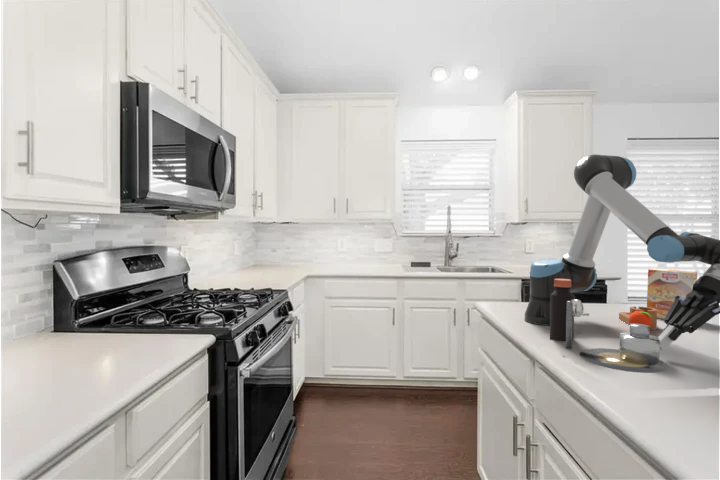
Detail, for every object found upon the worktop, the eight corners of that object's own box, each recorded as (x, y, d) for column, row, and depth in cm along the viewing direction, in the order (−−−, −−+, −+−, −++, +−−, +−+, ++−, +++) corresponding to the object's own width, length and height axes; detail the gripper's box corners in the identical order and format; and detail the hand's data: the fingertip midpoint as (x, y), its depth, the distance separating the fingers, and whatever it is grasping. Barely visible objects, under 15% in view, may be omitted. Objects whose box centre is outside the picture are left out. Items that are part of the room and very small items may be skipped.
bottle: (550, 343, 131) (551, 280, 130) (549, 338, 137) (550, 277, 136) (574, 346, 128) (576, 281, 127) (572, 340, 134) (573, 278, 134)
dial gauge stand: (557, 349, 124) (558, 298, 124) (582, 349, 125) (583, 297, 125) (567, 355, 120) (568, 301, 119) (593, 354, 120) (594, 300, 120)
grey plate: (564, 353, 121) (564, 349, 121) (628, 351, 123) (628, 347, 123) (613, 378, 101) (613, 373, 101) (688, 375, 103) (688, 371, 103)
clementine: (659, 332, 145) (660, 312, 145) (647, 334, 142) (648, 313, 142) (635, 327, 153) (636, 308, 152) (623, 329, 150) (624, 309, 149)
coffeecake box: (646, 316, 171) (647, 269, 170) (650, 314, 175) (652, 267, 175) (692, 323, 160) (694, 272, 159) (695, 320, 164) (697, 270, 164)
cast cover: (611, 353, 117) (612, 322, 116) (641, 353, 118) (642, 321, 117) (635, 364, 108) (636, 330, 107) (668, 363, 109) (669, 329, 108)
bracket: (661, 330, 149) (661, 311, 149) (635, 329, 151) (635, 310, 150) (638, 319, 166) (638, 302, 166) (615, 318, 168) (615, 301, 168)
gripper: (686, 271, 120) (631, 330, 119) (731, 277, 108) (670, 343, 106) (702, 289, 121) (648, 348, 120) (749, 297, 108) (689, 363, 107)
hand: (658, 346), depth 113 cm, fingers closed
